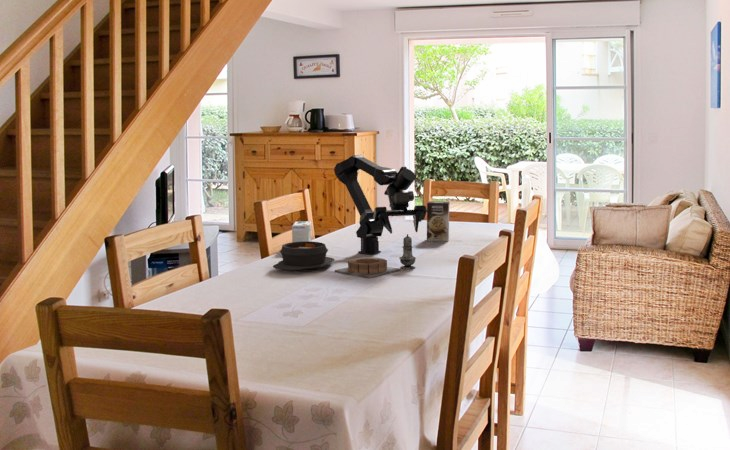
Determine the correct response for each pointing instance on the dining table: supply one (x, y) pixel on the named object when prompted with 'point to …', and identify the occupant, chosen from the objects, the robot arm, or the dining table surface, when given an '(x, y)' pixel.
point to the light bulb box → (301, 231)
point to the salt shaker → (407, 254)
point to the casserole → (303, 256)
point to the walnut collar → (367, 267)
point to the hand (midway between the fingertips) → (404, 232)
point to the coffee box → (438, 221)
